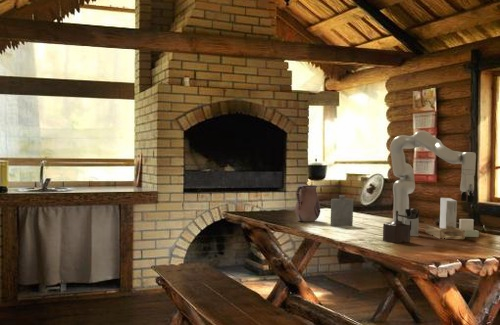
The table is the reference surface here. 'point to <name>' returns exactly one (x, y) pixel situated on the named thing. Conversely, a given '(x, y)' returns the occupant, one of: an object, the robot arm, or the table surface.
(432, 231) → the rack
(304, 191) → the ceramic pitcher
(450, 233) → the offcut walnut
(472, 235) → the holder
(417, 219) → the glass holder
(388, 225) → the dark brown coffee grinder
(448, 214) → the packaging
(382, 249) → the table surface
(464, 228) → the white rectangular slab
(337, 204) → the hip flask
